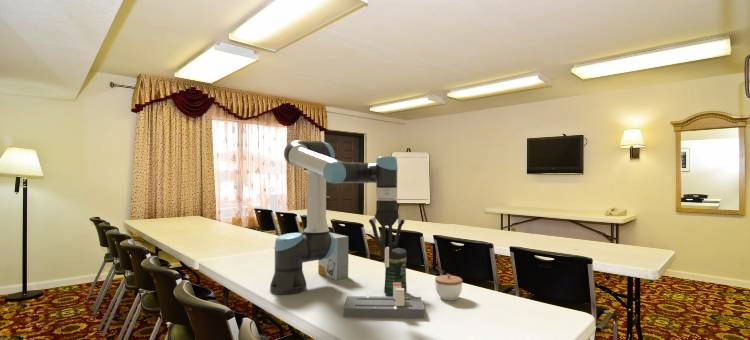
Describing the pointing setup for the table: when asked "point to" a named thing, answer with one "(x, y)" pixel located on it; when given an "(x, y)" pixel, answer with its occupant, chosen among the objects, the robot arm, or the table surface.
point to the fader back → (395, 285)
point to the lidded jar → (448, 286)
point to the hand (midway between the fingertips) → (386, 266)
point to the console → (383, 307)
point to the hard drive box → (336, 259)
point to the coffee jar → (396, 270)
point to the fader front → (399, 297)
